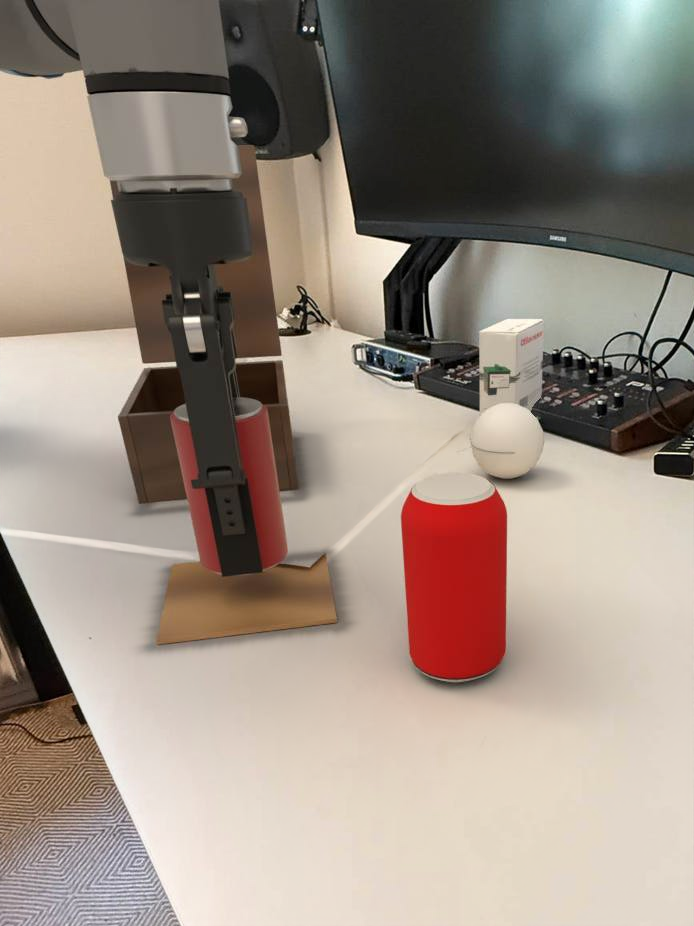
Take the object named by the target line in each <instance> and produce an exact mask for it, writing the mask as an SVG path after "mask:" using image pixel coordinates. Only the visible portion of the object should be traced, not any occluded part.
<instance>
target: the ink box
mask: <svg viewBox="0 0 694 926" xmlns="http://www.w3.org/2000/svg"><path fill="white" fill-rule="evenodd" d="M544 332H545V321H544V319H542V318H506V319H504V320H502V321H500V322H497V323H494V324H492V325H490V326H488V327H486V328H484V329H482V330H481V329H480V330H479V331H478V337H479V338H478V339H479V341H478V345H479V348H478V349H479V351H478V352H479V361H478V362H479V417H480V416H481V415H482V414H483V413H484V412H485V411H486V410H487V409H489V408H491V407H493V406H495V405H498V404H501V403H514V404H518V405H520V406H522V407H524V408H526V409H528V410H529V411H530V412H531V410H532V407H533V406H534V404H535V403H536V402H537V401H538V400H539V399H540V398H541V399H542V397H541V396H543V395H542V393H543V392H542V391H543V361H544V337H545V335H544V334H545V333H544ZM536 418H537V419H538V421H539V420H541V418H542V416H541V417H538V416H537V417H536Z"/></svg>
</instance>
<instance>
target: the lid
mask: <svg viewBox="0 0 694 926" xmlns="http://www.w3.org/2000/svg"><path fill="white" fill-rule="evenodd" d="M236 145H237V146H238V149H239V156H240V163H241V170H242V174H241V175H240V176H239V178H236V179H232V186H233V190H238V191H242V195H243V196H245V197H246V199H247V206H248V213H249V220H250V227H251V234H252V241H253V248H254V250H253V254H252V256H251V257H250V258H249V259H247V260H244V261H241V262H236V263H229V264H214V267H215V273H216V278H217V283H218V286H222V287H223V291H231V295H232V300H233V306H234V325H233V329H234V334H235V340H236V347H237V357H236V359H237V358H246V359H249V358H250V359H251V358H252V359H253V358H271V357H282V356H283V354H282V345H281V337H280V331H279V323H278V315H277V308H276V300H275V294H274V292H275V291H274V285H273V277H272V271H271V262H270V253H269V245H268V239H267V232H266V225H265V217H264V208H263V201H262V194H261V186H260V185H261V184H260V177H259V170H258V164H257V155H256V147H255V144H254V145H253V144H250V145H249V144H247V145H246V144H245V145H241V144H239V145H238V144H236ZM109 185H110V189H111V196H112V200H113V199H114V194H115V193H120V192H119V189H118V184H117V181H111V180H109ZM122 256H123V255H122ZM123 262H124V268H125V273H126V279H127V284H128V291H129V296H130V302H131V306H132V307H131V308H132V313H133V319H134V324H135V329H136V330H135V331H136V335H137V340H138V347H139V352H140V357H141V363H142V364H144V365H147V364H148V365H149V364H164V363H176V360H175V354H174V348H173V342H172V336H171V333H170V332H169V331H168V327H167V326H166V324H165V320H164V314H163V308H162V300H166V294H172V292H171V286H170V276H169V270H168V269H167V268H166V267H164V266H154V267H147V266H138V265H134V264H131V263H129V262H128V261H127V260H126V259H125V258H124V256H123Z"/></svg>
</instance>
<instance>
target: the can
mask: <svg viewBox="0 0 694 926" xmlns="http://www.w3.org/2000/svg"><path fill="white" fill-rule="evenodd" d="M232 398H233V404H234V411H235V418H236V425H237V431H238V438H239V445H240V452H241V458H242V465H243V470H244V471H245V472H246V478H248V483H249V489H250V495H251V501H252V507H253V513H254V519H255V525H256V531H257V537H258V543H259V549H260V555H261V561H262V567H263V571H266V570H268V569H271V568H273V567H274V566H276V565H278V564H279V563H281V562H283V560H284V559H285V558H286V557H287V555H288V554H289V546H288V539H287V534H286V526H285V519H284V514H283V506H282V500H281V494H280V492H281V491H279V485H278V479H277V472H276V465H275V458H274V451H273V445H272V438H271V431H270V424H269V417H268V411H267V407H266V406H265V405H263V404H261V402H259V401H257V400H254V399H250V398H244V397H232ZM170 420H171V424H172V429H173V434H174V439H175V443H176V448H177V453H178V458H179V462H180V467H181V472H182V477H183V481H184V486H185V491H186V496H187V504H188V510H189V515H190V518H191V519H190V520H191V523H192V528H193V534H194V538H195V542H196V543H195V544H196V548H197V552H198V557H199V562H201V564H202V565H203V567H205V568H206V569H208V570H210V571H212V572H214V573H217V574H221V575H222V573H221V568H220V563H219V558H218V553H217V548H216V543H215V538H214V533H213V528H212V523H211V518H210V513H209V508H208V503H207V497H206V492H205V488H201V489H193V487H192V484H191V480H192V479H198V475H197V474H199V472H198V467H197V461H196V456H195V451H194V445H193V440H192V435H191V430H190V424H189V419H188V414H187V409H186V404H183V405H181V406H179V407H177V408H176V409H175V411H174V412H173V413H172V414H171V416H170ZM253 574H255V573H253ZM244 575H250V574H244ZM235 576H241V575H235Z"/></svg>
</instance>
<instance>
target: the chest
mask: <svg viewBox="0 0 694 926" xmlns="http://www.w3.org/2000/svg"><path fill="white" fill-rule="evenodd" d="M284 369H285V368H284V362H283V360H282V359H279V360H278V359H277V360H261V361H246V362H241V363H236V375H237V381H238V387H239V393H240V397H244V398H250V399H254V400H257V401H259V402H261V404H263V405H265V406H266V407H267V411H268V417H269V424H270V431H271V438H272V445H273V451H274V458H275V465H276V472H277V479H278V485H279V492H287V491H298V490H300V485H299V476H298V468H297V460H296V453H295V446H294V437H293V431H292V430H293V429H292V421H291V416H290V415H291V413H290V407H289V400H288V392H287V384H286V378H285V370H284ZM183 404H186V403H185V398H184V393H183V388H182V382H181V377H180V372H179V370H178V369H177V366H176V365H172V366H156V367H144V368H143V370H142V371H141V373H140V374H139V377H138V379H137V380H136V382H135V384H134V386H133V388H132V390H131V392H130V393H129V395H128V397H127V399H126V401H125V403H124V405H123V407H122V408H121V410H120V412H119V414H118V416H117V420H118V423H119V429H120V432H121V436H122V440H123V445H124V447H125V448H124V449H125V452H126V456H127V461H128V464H129V465H128V466H129V470H130V474H131V477H132V481H133V487H134V489H135V494H136V498H137V502H138V504H139V505H142V504H152V503H163V502H175V501H186V500H187V496H186V491H185V486H184V481H183V477H182V472H181V467H180V462H179V458H178V453H177V448H176V443H175V439H174V434H173V429H172V424H171V420H170V416H171V414H172V413H173V412H174V411H175V409H176V408H177V407H179V406H181V405H183ZM187 501H188V500H187Z"/></svg>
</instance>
